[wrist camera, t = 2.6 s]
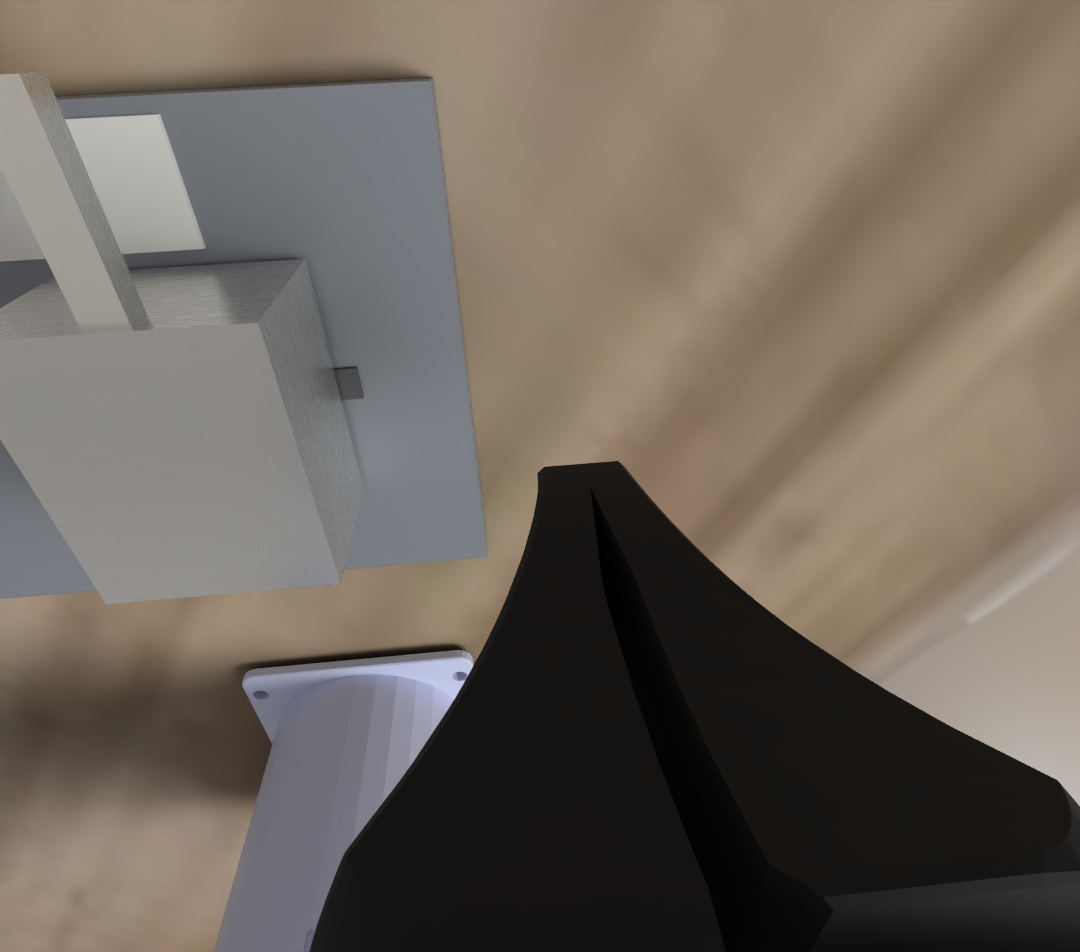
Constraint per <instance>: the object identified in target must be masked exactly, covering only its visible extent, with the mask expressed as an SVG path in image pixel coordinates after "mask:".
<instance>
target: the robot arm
mask: <svg viewBox="0 0 1080 952" xmlns="http://www.w3.org/2000/svg"><path fill="white" fill-rule="evenodd" d="M537 474H538V495H537V502H536V507H535V512H534V517H533V522H532V525H531V529H530V532H529V536H528V539H527V543H526V546H525V550H524V553H523V556H522V559H521V562H520V564H519V567H518V570H517V572H516V575H515V578H514V580H513V583H512V586H511V588H510V591H509V594H508V596H507V598H506V601H505V603H504V605H503V608H502V610H501V612H500V614H499V617H498V619H497V621H496V623H495V625H494V627H493V629H492V631H491V633H490V635H489V637H488V639H487V641H486V643H485V645H484V647H483V649H482V651H481V653H480V655H479V657H478V658H477V660H476V662H475V664H474V665H473V659H472V656H471V654H469V653H468V652H466V651H463V650H452V651H441V652H431V653H420V654H409V655H398V656H388V657H377V658H366V659H355V660H344V661H334V662H323V663H312V664H301V665H291V666H280V667H269V668H258V669H253V670H249V671H248V672H246V674H245V676H244V678H243V681H242V687H243V689H244V691H245V693H246V694H247V696H248V698H249V700H250V702H251V704H252V706H253V708H254V710H255V712H256V714H257V716H258V718H259V720H260V722H261V724H262V725H263V727H264V729H265V731H266V733H267V735H268V737H269V739H270V741H271V743H272V747H271V751H270V754H269V758H268V762H267V765H266V769H265V772H264V776H263V779H262V783H261V786H260V790H259V793H258V797H257V800H256V804H255V807H254V811H253V814H252V818H251V821H250V825H249V828H248V832H247V835H246V839H245V843H244V846H243V850H242V853H241V857H240V860H239V864H238V867H237V871H236V874H235V878H234V881H233V885H232V888H231V892H230V895H229V899H228V902H227V906H226V909H225V913H224V916H223V920H222V924H221V927H220V931H219V934H218V938H217V941H216V945H215V948H214V952H1080V806H1079V805H1078V804H1077V803H1076V802H1075V800H1074V799H1073V798H1072V797H1071V796H1070V794H1069V793H1068V792H1067V791H1066V790H1065V789H1064V788H1063V786H1062V785H1061V784H1060V783H1059V782H1058V781H1057V780H1056V779H1054V778H1052V777H1050V776H1048V775H1045V774H1044V773H1041V772H1040V771H1038V770H1036V769H1034V768H1031V767H1030V766H1028V765H1026V764H1024V763H1022V762H1020V761H1018V760H1016V759H1014V758H1012V757H1010V756H1008V755H1006V754H1004V753H1002V752H1000V751H998V750H996V749H994V748H992V747H990V746H988V745H986V744H984V743H982V742H980V741H978V740H976V739H974V738H972V737H970V736H968V735H966V734H964V733H962V732H960V731H958V730H956V729H954V728H952V727H951V726H949V725H947V724H945V723H943V722H941V721H940V720H938V719H936V718H934V717H932V716H931V715H929V714H927V713H925V712H924V711H922V710H920V709H918V708H917V707H915V706H913V705H911V704H910V703H908V702H906V701H904V700H903V699H901V698H899V697H897V696H896V695H894V694H892V693H890V692H888V691H887V690H885V689H884V688H882V687H880V686H879V685H877V684H875V683H874V682H872V681H871V680H869V679H867V678H866V677H864V676H862V675H861V674H859V673H857V672H856V671H854V670H853V669H851V668H850V667H848V666H847V665H845V664H844V663H842V662H841V661H839V660H838V659H836V658H835V657H833V656H832V655H830V654H829V653H827V652H826V651H824V650H823V649H821V648H820V647H818V646H816V645H815V644H813V643H812V642H810V641H809V640H807V639H806V638H805V637H803V636H802V635H800V634H799V633H798V632H796V631H795V630H793V629H792V628H791V627H789V626H788V625H786V624H785V623H784V622H782V621H781V620H780V619H779V618H777V617H776V616H775V615H773V614H772V613H771V612H769V611H768V610H767V609H766V608H764V607H763V606H762V605H760V604H759V603H758V602H757V601H755V600H754V599H753V598H752V597H751V596H749V595H748V594H747V593H746V592H745V591H743V590H742V589H741V588H740V587H739V586H738V585H737V584H735V583H734V582H733V581H732V580H731V579H730V578H729V577H727V576H726V575H725V574H724V573H723V572H722V571H721V570H720V569H719V568H718V567H717V566H715V565H714V564H713V563H712V562H711V561H710V560H709V559H708V558H707V557H706V556H705V555H704V554H703V553H702V552H701V551H700V550H699V549H698V548H697V547H695V546H694V545H693V543H692V542H691V541H690V540H689V539H688V538H687V537H686V536H685V535H684V534H683V533H682V532H681V531H680V530H679V529H678V528H677V527H676V526H675V525H674V524H673V523H672V522H671V521H670V520H669V519H668V517H667V516H666V515H665V514H664V513H663V512H662V511H661V510H660V509H659V508H658V506H657V505H656V504H655V503H654V502H653V501H652V500H651V498H650V497H649V496H648V495H647V494H646V493H645V491H644V490H643V489H642V488H641V487H640V486H639V484H638V483H637V482H636V481H635V479H634V478H633V477H632V476H631V475H630V473H629V472H628V471H627V470H626V468H625V467H624V466H623V465H622V464H621V463H620V462H618V461H614V462H601V463H588V464H575V465H563V466H550V467H544V468H543V469H542V470H540V471H539V472H538V473H537Z"/></svg>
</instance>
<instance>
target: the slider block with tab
mask: <svg viewBox="0 0 1080 952" xmlns="http://www.w3.org/2000/svg"><path fill="white" fill-rule="evenodd" d="M0 167H1V169H2V171H3V173H4V175H5V177H6V179H7V181H8V183H9V185H10V187H11V189H12V191H13V193H14V195H15V198H16V200H17V202H18V204H19V206H20V208H21V210H22V212H23V214H24V216H25V218H26V220H27V222H28V224H29V226H30V228H31V230H32V232H33V234H34V236H35V238H36V240H37V242H38V244H39V246H40V248H41V250H42V252H43V254H44V256H45V258H46V260H47V262H48V264H49V266H50V268H51V270H52V272H53V274H54V277H53V278H51V279H49V280H48V281H46V282H44V283H42V284H41V285H39V286H37V287H36V288H34V289H32V290H31V291H29V292H27V293H25V294H24V295H22V296H20V297H19V298H17V299H15V300H14V301H12V302H10V303H8V304H7V305H5V306H3V307H2V308H0V440H1V441H2V443H3V445H4V446H5V448H6V449H7V451H8V452H9V454H10V455H11V457H12V459H13V460H14V462H15V463H16V465H17V466H18V468H19V469H20V471H21V473H22V474H23V476H24V477H25V479H26V480H27V482H28V483H29V485H30V486H31V488H32V490H33V491H34V493H35V494H36V496H37V497H38V499H39V500H40V502H41V504H42V505H43V507H44V508H45V510H46V511H47V513H48V514H49V516H50V518H51V519H52V521H53V522H54V524H55V525H56V527H57V528H58V530H59V532H60V533H61V535H62V536H63V538H64V539H65V541H66V542H67V544H68V546H69V547H70V549H71V550H72V552H73V553H74V555H75V556H76V558H77V560H78V561H79V563H80V564H81V566H82V567H83V569H84V570H85V572H86V574H87V575H88V577H89V578H90V580H91V581H92V583H93V584H94V586H95V588H96V589H97V591H98V592H99V594H100V595H101V597H102V598H103V600H104V602H105V603H106V604H116V603H127V602H139V601H150V600H162V599H173V598H185V597H196V596H208V595H219V594H231V593H242V592H254V591H265V590H276V589H288V588H299V587H311V586H322V585H334V584H341V581H342V577H343V573H344V568H345V564H346V560H347V556H348V552H349V548H350V544H351V540H352V535H353V531H354V527H355V523H356V519H357V515H358V511H359V507H360V503H361V498H362V494H363V490H364V487H363V483H362V479H361V475H360V471H359V468H358V464H357V460H356V456H355V452H354V448H353V444H352V440H351V436H350V432H349V428H348V424H347V420H346V416H345V413H344V409H343V405H342V401H341V397H340V393H339V389H338V385H337V381H336V377H335V373H334V369H333V365H332V362H331V358H330V354H329V350H328V346H327V342H326V338H325V334H324V330H323V326H322V322H321V318H320V314H319V310H318V307H317V303H316V299H315V295H314V291H313V287H312V283H311V279H310V275H309V271H308V267H307V263H306V259H292V260H276V261H261V262H245V263H229V264H213V265H198V266H182V267H166V268H151V269H135V270H128V267H127V265H126V263H125V260H124V258H123V256H122V253H121V251H120V249H119V246H118V244H117V241H116V239H115V237H114V234H113V232H112V230H111V227H110V225H109V222H108V220H107V218H106V215H105V213H104V211H103V208H102V206H101V204H100V201H99V199H98V196H97V194H96V192H95V189H94V187H93V185H92V182H91V180H90V177H89V175H88V173H87V170H86V168H85V166H84V163H83V161H82V158H81V156H80V154H79V151H78V149H77V147H76V144H75V142H74V140H73V137H72V135H71V132H70V130H69V128H68V125H67V123H66V121H65V118H64V116H63V113H62V111H61V109H60V106H59V104H58V102H57V99H56V97H55V95H54V92H53V90H52V87H51V85H50V83H49V80H48V78H47V76H46V73H45V71H35V72H15V73H0Z"/></svg>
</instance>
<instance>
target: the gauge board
mask: <svg viewBox="0 0 1080 952" xmlns="http://www.w3.org/2000/svg"><path fill="white" fill-rule="evenodd" d="M56 99H57V102H58V104H59V106H60V109H61V111H62V113H63V116H64V118H65V121H66V123H67V125H68V128H69V130H70V132H71V135H72V137H73V140H74V142H75V144H76V147H77V149H78V151H79V154H80V156H81V158H82V161H83V163H84V166H85V168H86V170H87V173H88V175H89V177H90V180H91V182H92V185H93V187H94V189H95V192H96V194H97V196H98V199H99V201H100V204H101V206H102V208H103V211H104V213H105V215H106V218H107V220H108V222H109V225H110V227H111V230H112V232H113V234H114V237H115V239H116V241H117V244H118V246H119V249H120V251H121V253H122V256H123V258H124V260H125V263H126V265H127V267H128V270H135V269H151V268H166V267H182V266H198V265H213V264H229V263H245V262H261V261H276V260H292V259H306V263H307V267H308V271H309V275H310V279H311V283H312V287H313V291H314V295H315V299H316V303H317V307H318V310H319V314H320V318H321V322H322V326H323V330H324V334H325V338H326V342H327V346H328V350H329V354H330V358H331V362H332V365H333V369H334V373H335V377H336V381H337V385H338V389H339V393H340V397H341V401H342V405H343V409H344V413H345V416H346V420H347V424H348V428H349V432H350V436H351V440H352V444H353V448H354V452H355V456H356V460H357V464H358V468H359V471H360V475H361V479H362V483H363V487H364V490H363V494H362V498H361V503H360V507H359V511H358V515H357V519H356V523H355V527H354V531H353V535H352V540H351V544H350V548H349V552H348V556H347V560H346V564H345V568H344V569H354V568H366V567H377V566H389V565H401V564H412V563H424V562H435V561H447V560H459V559H470V558H482V557H487V534H486V525H485V517H484V508H483V500H482V491H481V483H480V474H479V466H478V457H477V449H476V440H475V432H474V423H473V415H472V406H471V397H470V389H469V380H468V372H467V363H466V355H465V346H464V338H463V329H462V321H461V312H460V304H459V295H458V287H457V278H456V270H455V261H454V252H453V244H452V235H451V227H450V218H449V210H448V201H447V193H446V184H445V176H444V167H443V159H442V150H441V142H440V133H439V125H438V116H437V107H436V99H435V90H434V82H433V77H429V78H410V79H390V80H370V81H351V82H331V83H312V84H292V85H272V86H253V87H233V88H214V89H194V90H174V91H155V92H135V93H115V94H96V95H76V96H57V97H56ZM53 277H54V274H53V272H52V270H51V268H50V266H49V264H48V262H47V260H46V258H45V256H44V254H43V252H42V250H41V248H40V246H39V244H38V242H37V240H36V238H35V236H34V234H33V232H32V230H31V228H30V226H29V224H28V222H27V220H26V218H25V216H24V214H23V212H22V210H21V208H20V206H19V204H18V202H17V200H16V198H15V195H14V193H13V191H12V189H11V187H10V185H9V183H8V181H7V179H6V177H5V175H4V173H3V171H2V169H1V167H0V308H2V307H3V306H5V305H7V304H8V303H10V302H12V301H14V300H15V299H17V298H19V297H20V296H22V295H24V294H25V293H27V292H29V291H31V290H32V289H34V288H36V287H37V286H39V285H41V284H42V283H44V282H46V281H48V280H49V279H51V278H53ZM87 591H97V589H96V588H95V586H94V584H93V583H92V581H91V580H90V578H89V577H88V575H87V574H86V572H85V570H84V569H83V567H82V566H81V564H80V563H79V561H78V560H77V558H76V556H75V555H74V553H73V552H72V550H71V549H70V547H69V546H68V544H67V542H66V541H65V539H64V538H63V536H62V535H61V533H60V532H59V530H58V528H57V527H56V525H55V524H54V522H53V521H52V519H51V518H50V516H49V514H48V513H47V511H46V510H45V508H44V507H43V505H42V504H41V502H40V500H39V499H38V497H37V496H36V494H35V493H34V491H33V490H32V488H31V486H30V485H29V483H28V482H27V480H26V479H25V477H24V476H23V474H22V473H21V471H20V469H19V468H18V466H17V465H16V463H15V462H14V460H13V459H12V457H11V455H10V454H9V452H8V451H7V449H6V448H5V446H4V445H3V443H2V441H1V440H0V599H6V598H18V597H29V596H41V595H53V594H64V593H76V592H87Z"/></svg>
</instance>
